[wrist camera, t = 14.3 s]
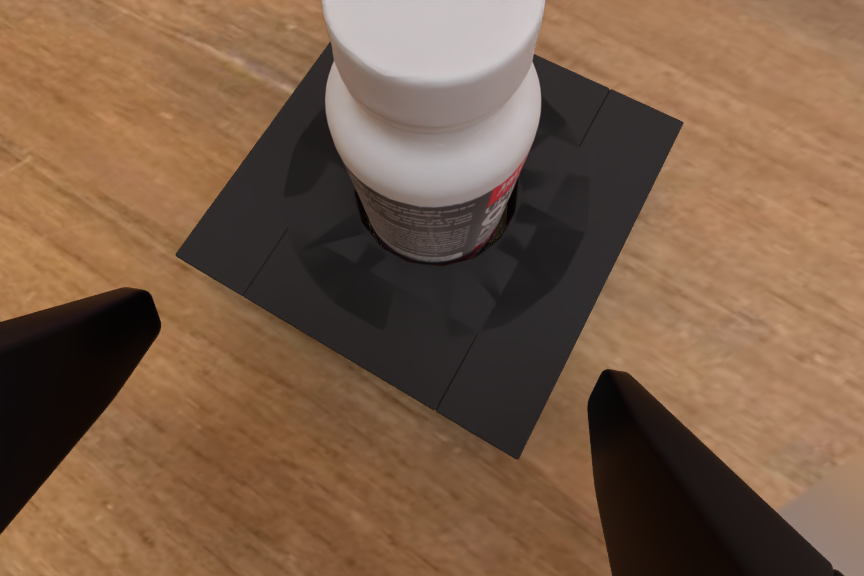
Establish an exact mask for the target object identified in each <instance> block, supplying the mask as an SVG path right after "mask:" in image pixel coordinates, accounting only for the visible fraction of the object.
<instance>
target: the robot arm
mask: <svg viewBox="0 0 864 576" xmlns="http://www.w3.org/2000/svg"><path fill="white" fill-rule="evenodd" d="M160 330H161V321H160V318H159V315H158V312H157V309H156V307H155V304H154V301H153V298H152V296H151V294H150V293H149V292H148V291H145V290H142V289H136V288H130V287H123V288H119V289H116V290H112V291H108V292H105V293H101V294H98V295H94V296H91V297H87V298H84V299H80V300H77V301H73V302H70V303H66V304H63V305H59V306H56V307H52V308H48V309H45V310H41V311H38V312H34V313H31V314H27V315H24V316H20V317H17V318H13V319H10V320H6V321H3V322H0V534H1V533H2V532H3V531H4V530H5V529H6V527H7V526H8V525H9V524H10V523H11V521H12V520H13V519H14V518H15V517H16V515H17V514H18V513H19V512H20V511H21V509H22V508H23V507H24V506H25V505H26V503H27V502H28V501H29V500H30V499H31V497H32V496H33V495H34V494H35V493H36V492H37V490H38V489H39V488H40V487H41V486H42V484H43V483H44V482H45V481H46V480H47V478H48V477H49V476H50V475H51V474H52V472H53V471H54V470H55V469H56V468H57V466H58V465H59V464H60V463H61V462H62V461H63V459H64V458H65V457H66V456H67V455H68V453H69V452H70V451H71V450H72V449H73V447H74V446H75V445H76V444H77V443H78V441H79V440H80V439H81V438H82V437H83V435H84V434H85V433H86V432H87V431H88V429H89V428H90V427H91V426H92V425H93V424H94V422H95V421H96V420H97V419H98V418H99V416H100V415H101V414H102V413H103V412H104V410H105V409H106V408H107V407H108V405H109V404H110V403H111V402H112V400H113V399H114V398H115V396H116V395H117V394H118V392H119V391H120V390H121V388H122V387H123V385H124V384H125V382H126V381H127V380H128V378H129V377H130V375H131V374H132V372H133V371H134V369H135V368H136V367H137V365H138V364H139V362H140V361H141V359H142V358H143V356H144V355H145V354H146V352H147V351H148V349H149V348H150V346H151V345H152V343H153V342H154V341H155V339H156V338H157V336H158V335H159V332H160ZM587 411H588V422H589V433H590V444H591V455H592V466H593V477H594V485H595V492H596V498H597V503H598V508H599V513H600V518H601V523H602V528H603V533H604V537H605V542H606V547H607V552H608V557H609V562H610V567H611V572H612V576H844V575H843V574H842V573H841V572H839V571H838V570H835V569H833V567H832V565H831V563H830V562H829V561H828V560H827V559H826V558H825V557H823V556H822V555H821V554H820V553H819V552H818V551H817V550H816V549H815V548H814V547H813V546H812V545H811V544H810V543H809V542H807V541H806V540H805V539H804V538H803V537H802V536H801V535H800V534H799V533H798V532H797V531H796V530H795V529H794V528H793V527H792V526H791V525H789V524H788V523H787V522H786V521H785V520H784V519H783V518H782V517H781V516H780V515H779V514H778V513H777V512H776V511H775V510H774V509H773V508H771V507H770V506H769V505H768V504H767V503H766V502H765V501H764V500H763V499H762V498H761V497H760V496H759V495H758V494H757V493H756V492H754V491H753V490H752V489H751V488H750V487H749V486H748V485H747V484H746V483H745V482H744V481H743V480H742V479H741V478H740V477H739V476H737V475H736V474H735V473H734V472H733V471H732V470H731V469H730V468H729V467H728V466H727V465H726V464H725V463H724V462H723V461H722V460H720V459H719V458H718V457H717V456H716V455H715V454H714V453H713V452H712V451H711V450H710V449H709V448H708V447H707V446H706V445H705V444H703V443H702V442H701V441H700V440H699V439H698V438H697V437H696V436H695V435H694V434H693V433H692V432H691V431H690V430H689V429H688V428H686V427H685V426H684V425H683V424H682V423H681V422H680V421H679V420H678V419H677V418H676V417H675V416H674V415H673V414H672V413H671V412H669V411H668V410H667V409H666V408H665V407H664V406H663V405H662V404H661V403H660V402H659V401H658V400H657V399H656V398H655V397H654V396H652V395H651V394H650V393H649V392H648V391H647V390H646V389H645V388H644V387H643V386H642V385H641V384H640V383H639V382H638V381H637V380H635V379H634V378H633V377H632V376H631V375H630V374H628V373H626V372H622V371H616V370H610V369H607V370H604V371H603V372H602V373H601V375H600V377H599V379H598V381H597V383H596V385H595V387H594V389H593V391H592V393H591V395H590V397H589V400H588V407H587Z"/></svg>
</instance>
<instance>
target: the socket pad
mask: <svg viewBox="0 0 864 576" xmlns="http://www.w3.org/2000/svg"><path fill="white" fill-rule="evenodd" d="M333 62H334V56H333V51H332V45H331V42H330V43H329V44H328V46H327V47H326V48H325V50H324V51H323V53H322V54H321V55H320V57H319V58H318V59H317V61H316V62H315V64H314V65H313V66H312V68H311V69H310V70H309V72H308V73H307V75H306V76H305V77H304V79H303V80H302V81H301V83H300V84H299V85H298V87H297V88H296V90H295V91H294V92H293V94H292V95H291V96H290V98H289V99H288V101H287V102H286V103H285V105H284V106H283V107H282V109H281V110H280V112H279V113H278V114H277V116H276V117H275V118H274V120H273V121H272V123H271V124H270V125H269V127H268V128H267V129H266V131H265V132H264V134H263V135H262V136H261V138H260V139H259V140H258V142H257V143H256V144H255V146H254V147H253V149H252V150H251V151H250V153H249V154H248V155H247V157H246V158H245V160H244V161H243V162H242V164H241V165H240V166H239V168H238V169H237V171H236V172H235V173H234V175H233V176H232V177H231V179H230V180H229V182H228V183H227V184H226V186H225V187H224V188H223V190H222V191H221V192H220V194H219V195H218V197H217V198H216V199H215V201H214V202H213V203H212V205H211V206H210V208H209V209H208V210H207V212H206V213H205V214H204V216H203V217H202V219H201V220H200V221H199V223H198V224H197V225H196V227H195V228H194V230H193V231H192V232H191V234H190V235H189V236H188V238H187V239H186V241H185V242H184V243H183V245H182V246H181V247H180V249H179V250H178V251H177V253H176V256H177V257H178V258H180V259H181V260H183V261H185V262H186V263H188V264H190V265H191V266H193V267H195V268H196V269H198V270H200V271H201V272H203V273H205V274H206V275H208V276H210V277H211V278H213V279H215V280H217V281H218V282H220V283H222V284H223V285H225V286H227V287H228V288H230V289H232V290H233V291H235V292H237V293H238V294H240V295H242V296H244V297H245V298H247V299H248V300H250V301H252V302H253V303H255V304H257V305H258V306H260V307H262V308H263V309H265V310H267V311H268V312H270V313H272V314H273V315H275V316H277V317H278V318H280V319H282V320H284V321H285V322H287V323H289V324H290V325H292V326H294V327H295V328H297V329H299V330H300V331H302V332H304V333H305V334H307V335H309V336H310V337H312V338H314V339H315V340H317V341H319V342H320V343H322V344H324V345H325V346H327V347H329V348H330V349H332V350H334V351H335V352H337V353H339V354H341V355H342V356H344V357H346V358H347V359H349V360H351V361H352V362H354V363H356V364H357V365H359V366H361V367H362V368H364V369H366V370H367V371H369V372H371V373H372V374H374V375H376V376H377V377H379V378H381V379H382V380H384V381H386V382H387V383H389V384H391V385H393V386H394V387H396V388H398V389H399V390H401V391H403V392H404V393H406V394H408V395H409V396H411V397H413V398H414V399H416V400H418V401H419V402H421V403H423V404H424V405H426V406H428V407H429V408H431V409H433V410H436V411H437V412H438V413H439V414H441V415H443V416H445V417H446V418H448V419H450V420H451V421H453V422H455V423H456V424H458V425H460V426H461V427H463V428H465V429H466V430H468V431H470V432H471V433H473V434H475V435H476V436H478V437H480V438H481V439H483V440H485V441H486V442H488V443H490V444H491V445H493V446H495V447H496V448H498V449H500V450H502V451H503V452H505V453H507V454H508V455H510V456H512V457H513V458H515V459H519V457H520V455H521V453H522V451H523V449H524V447H525V445H526V443H527V441H528V439H529V437H530V435H531V433H532V431H533V429H534V427H535V425H536V423H537V421H538V419H539V416H540V414H541V412H542V410H543V408H544V406H545V404H546V402H547V400H548V398H549V396H550V394H551V392H552V390H553V388H554V386H555V384H556V382H557V380H558V378H559V376H560V374H561V372H562V370H563V368H564V366H565V364H566V361H567V359H568V357H569V355H570V353H571V351H572V349H573V347H574V345H575V343H576V341H577V339H578V337H579V335H580V333H581V331H582V329H583V327H584V325H585V323H586V321H587V319H588V317H589V315H590V313H591V311H592V309H593V306H594V304H595V302H596V300H597V298H598V296H599V294H600V292H601V290H602V288H603V286H604V284H605V282H606V280H607V278H608V276H609V274H610V272H611V270H612V268H613V266H614V264H615V262H616V260H617V258H618V256H619V254H620V251H621V249H622V247H623V245H624V243H625V241H626V239H627V237H628V235H629V233H630V231H631V229H632V227H633V225H634V223H635V221H636V219H637V217H638V215H639V213H640V211H641V209H642V207H643V205H644V203H645V201H646V199H647V196H648V194H649V192H650V190H651V188H652V186H653V184H654V182H655V180H656V178H657V176H658V174H659V172H660V170H661V168H662V166H663V164H664V162H665V160H666V158H667V156H668V154H669V152H670V150H671V148H672V146H673V144H674V141H675V139H676V137H677V135H678V133H679V131H680V129H681V127H682V125H683V122H682V121H680V120H678V119H676V118H673V117H671V116H669V115H667V114H665V113H662V112H660V111H658V110H656V109H654V108H651V107H649V106H647V105H645V104H643V103H640V102H638V101H636V100H634V99H632V98H630V97H627V96H625V95H623V94H621V93H619V92H616V91H614V90H612V89H611V90H610V91H609V88H607V87H605V86H603V85H601V84H598V83H596V82H594V81H592V80H590V79H587V78H585V77H583V76H581V75H579V74H576V73H574V72H572V71H570V70H568V69H565V68H563V67H561V66H559V65H557V64H555V63H552V62H550V61H548V60H546V59H544V58H541V57H539V56H537V55H535V54H534V56H533V60H532V62H533V65H534V67H535V70H536V73H537V76H538V79H539V84H540V90H541V113H540V119H539V124H538V128H537V131H536V134H535V138H534V141H533V143H532V146H531V148H530V151H529V153H528V155H527V158H526V160H525V162H524V164H523V167H522V169H521V171H520V174H519V176H518V178H517V180H516V182H515V185H514V188H513V190H512V192H511V195H510V197H509V199H508V213H507V224H506V228H505V230H504V231H503V233H502V235H501V237H500V238H499V239H498V240H497V241H495V242H494V243H493V244H491V245H490V246H489V247H488V248H486V249H485V250H484V251H482V252H481V253H480V254H478V255H477V256H476V257H474V258H471V259H467V260H463V261H459V262H456V263H452V264H448V265H445V266H438V265H429V264H420V263H412V262H408V261H406V260H404V259H403V258H401V257H399V256H397V255H395V254H393V253H392V252H390V251H388V250H386V249H384V248H383V247H381V246H380V244H379V243H378V242H377V241H376V239H375V238H374V237H373V235H372V234H371V233H370V232H369V230H368V226H367V222H366V218H365V214H364V213H365V209H364V207H363V204H362V202H361V200H360V197H359V195H358V193H357V191H356V189H355V187H354V184H353V182H352V180H351V178H350V176H349V174H348V172H347V169H346V167H345V165H344V163H343V161H342V159H341V157H340V155H339V153H338V151H337V149H336V147H335V144H334V141H333V138H332V135H331V132H330V129H329V126H328V121H327V116H326V106H325V96H326V85H327V81H328V76H329V73H330V70H331V67H332V65H333Z"/></svg>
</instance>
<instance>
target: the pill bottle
mask: <svg viewBox="0 0 864 576" xmlns="http://www.w3.org/2000/svg"><path fill="white" fill-rule="evenodd" d="M544 7H545V0H322V8H323V15H324V20H325V24H326V27H327V31H328V34H329V38H330V41H331V45H332V51H333V56H334V62H333V65H332V67H331V70H330V73H329V76H328V81H327V85H326V96H325V106H326V116H327V121H328V126H329V129H330V132H331V135H332V138H333V141H334V144H335V147H336V149H337V151H338V153H339V155H340V157H341V159H342V161H343V163H344V165H345V167H346V169H347V172H348V174H349V176H350V178H351V180H352V182H353V184H354V187H355V189H356V191H357V193H358V195H359V197H360V200H361V202H362V204H363V207H364V209H365V211H366V213H367V215H368V218H369V221H370V223H371V225H372V227H373V229H374V231H375V233H376V235H377V237H378V239H379V241H380V242H381V244H382V245H383V246H384V248H385V249H386V250H388V251H390V252H392V253H393V254H395V255H397V256H399V257H401V258H403V259H404V260H406V261H408V262H412V263H420V264H429V265H438V266H445V265H448V264H452V263H456V262H459V261H463V260H467V259H471V258H474V257H475V256H476V255H478V254H479V253H480V252H481V251H482V250H483V249H484V248H485V247H486V245H487V244H488V243H489V241H490V239H491V238H492V236H493V234H494V232H495V230H496V228H497V226H498V224H499V221H500V219H501V217H502V214H503V212H504V209H505V207H506V204H507V202H508V199H509V197H510V195H511V192H512V190H513V188H514V185H515V182H516V180H517V178H518V176H519V174H520V171H521V169H522V167H523V164H524V162H525V160H526V158H527V155H528V153H529V151H530V148H531V146H532V143H533V141H534V138H535V134H536V131H537V128H538V124H539V119H540V113H541V90H540V84H539V79H538V76H537V73H536V70H535V67H534V65H533V62H532V60H533V56H534V51H535V45H536V42H537V38H538V34H539V31H540V27H541V22H542V18H543V13H544Z"/></svg>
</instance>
